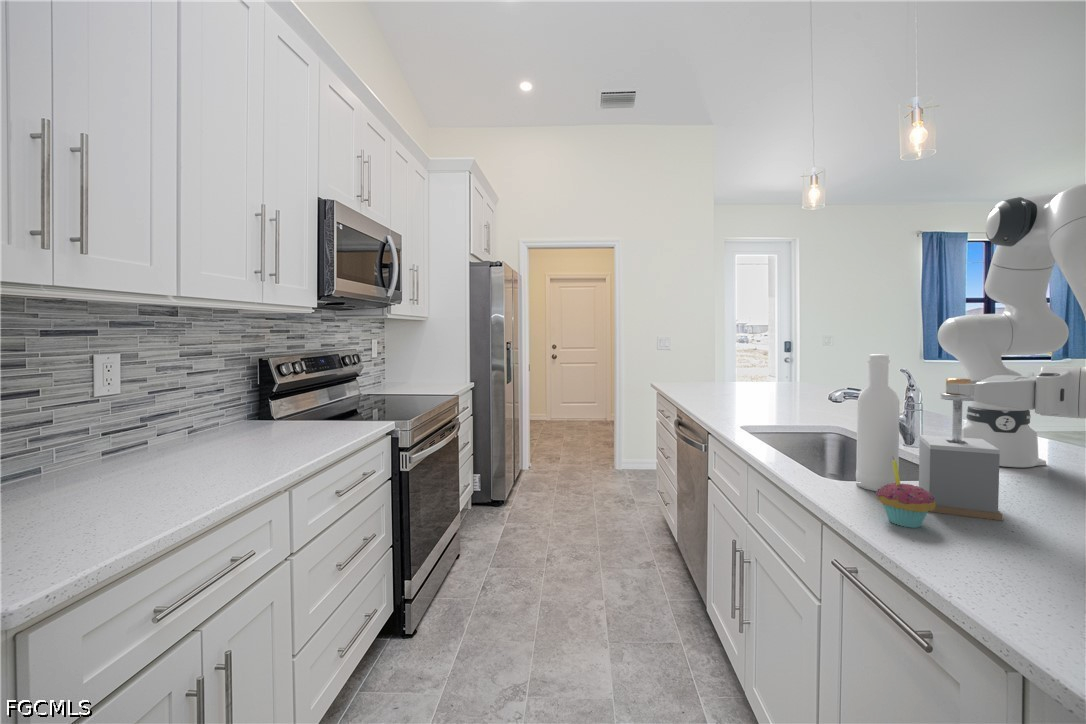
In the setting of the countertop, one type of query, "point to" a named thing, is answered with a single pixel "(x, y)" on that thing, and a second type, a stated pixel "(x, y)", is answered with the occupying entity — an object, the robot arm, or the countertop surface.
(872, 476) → the bottle
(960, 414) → the plunger
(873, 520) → the countertop surface
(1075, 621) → the countertop surface
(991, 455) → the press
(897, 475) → the cupcake
